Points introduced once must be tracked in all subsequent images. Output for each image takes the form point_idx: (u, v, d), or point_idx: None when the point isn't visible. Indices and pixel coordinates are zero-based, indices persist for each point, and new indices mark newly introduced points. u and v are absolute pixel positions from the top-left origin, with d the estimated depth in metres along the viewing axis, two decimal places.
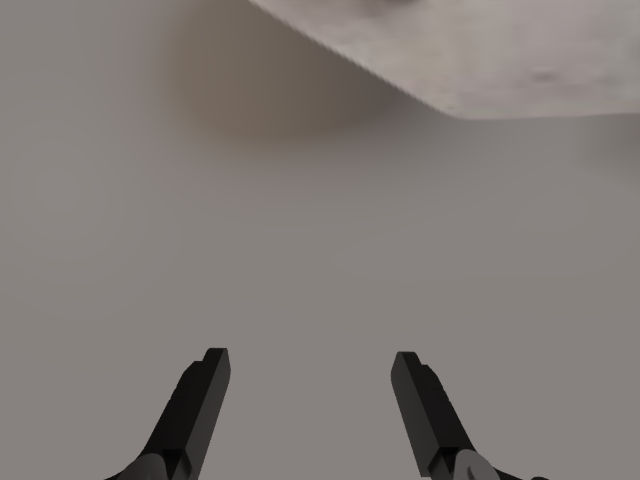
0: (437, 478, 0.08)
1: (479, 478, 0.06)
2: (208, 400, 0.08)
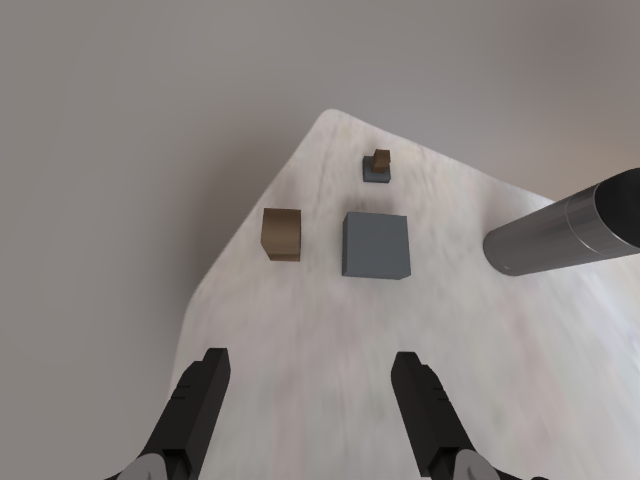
0: (437, 478, 0.08)
1: (479, 478, 0.06)
2: (208, 400, 0.08)
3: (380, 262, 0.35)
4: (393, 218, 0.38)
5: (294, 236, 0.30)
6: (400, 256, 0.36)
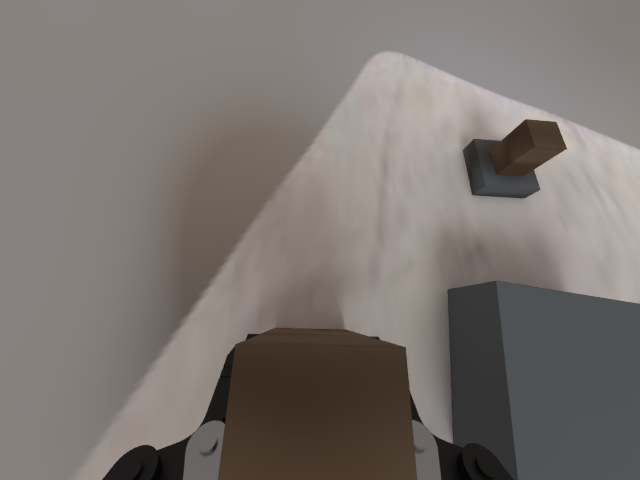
0: None
1: (418, 444, 0.07)
2: None
3: (624, 473, 0.11)
4: (624, 311, 0.13)
5: None
6: None
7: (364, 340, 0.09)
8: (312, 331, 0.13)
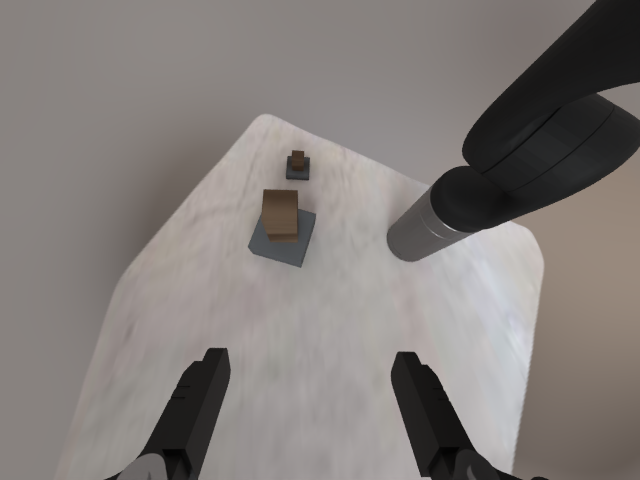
0: (437, 478, 0.08)
1: (479, 478, 0.06)
2: (208, 400, 0.08)
3: (278, 246, 0.41)
4: (303, 213, 0.44)
5: (292, 214, 0.33)
6: (297, 245, 0.42)
7: None
8: None
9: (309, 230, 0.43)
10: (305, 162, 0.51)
